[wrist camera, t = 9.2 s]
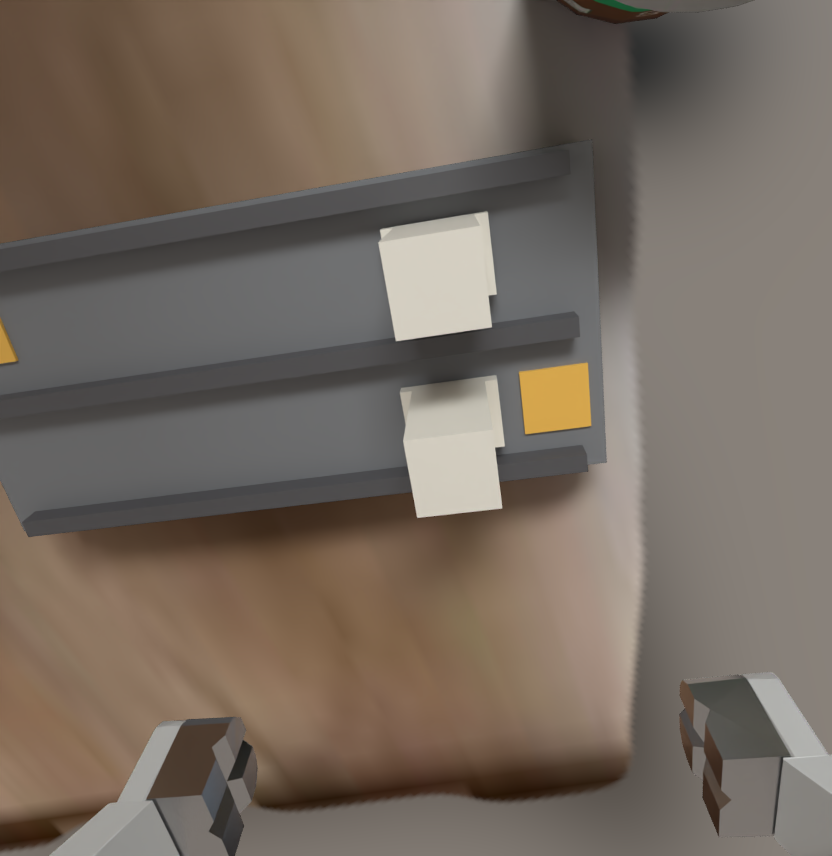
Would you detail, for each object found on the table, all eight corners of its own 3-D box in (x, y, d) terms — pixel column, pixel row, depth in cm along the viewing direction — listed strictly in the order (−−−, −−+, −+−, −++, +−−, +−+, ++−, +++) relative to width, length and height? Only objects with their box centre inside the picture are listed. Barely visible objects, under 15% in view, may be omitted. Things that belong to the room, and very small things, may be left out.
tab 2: (401, 388, 25) (388, 442, 20) (496, 374, 25) (507, 427, 20) (412, 451, 26) (403, 519, 21) (503, 440, 26) (516, 506, 21)
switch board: (-49, 253, 27) (-126, 265, 24) (575, 143, 24) (598, 137, 21) (60, 500, 32) (10, 542, 29) (591, 435, 29) (612, 473, 26)
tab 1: (381, 228, 23) (361, 245, 18) (486, 210, 22) (497, 223, 17) (395, 306, 24) (380, 343, 19) (495, 291, 24) (508, 324, 18)
